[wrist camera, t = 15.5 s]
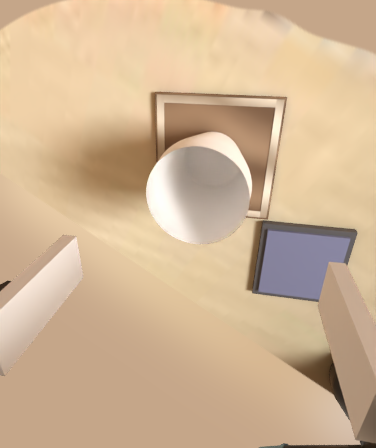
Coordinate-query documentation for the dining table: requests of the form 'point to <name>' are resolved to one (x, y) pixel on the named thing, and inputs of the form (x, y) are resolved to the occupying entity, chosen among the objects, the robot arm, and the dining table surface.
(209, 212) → the cup
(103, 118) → the dining table surface
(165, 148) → the marked board
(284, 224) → the ink pad
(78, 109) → the dining table surface
